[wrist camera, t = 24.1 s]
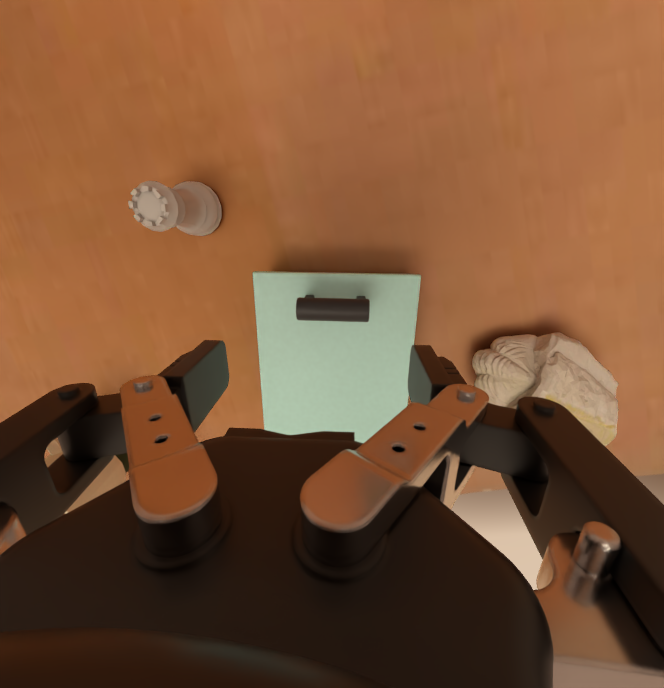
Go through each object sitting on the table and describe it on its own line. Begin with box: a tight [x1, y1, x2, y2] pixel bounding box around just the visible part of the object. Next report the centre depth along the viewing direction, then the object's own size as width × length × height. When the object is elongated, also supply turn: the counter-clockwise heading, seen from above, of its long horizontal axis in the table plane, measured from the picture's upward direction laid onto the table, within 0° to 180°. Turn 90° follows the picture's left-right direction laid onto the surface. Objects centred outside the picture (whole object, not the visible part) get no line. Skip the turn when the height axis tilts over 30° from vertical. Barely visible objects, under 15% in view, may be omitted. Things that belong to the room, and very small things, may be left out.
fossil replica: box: [472, 332, 618, 446], centre depth 29 cm, size 12×8×10 cm
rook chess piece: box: [128, 181, 222, 236], centre depth 26 cm, size 4×4×8 cm
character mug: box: [44, 438, 129, 516], centre depth 32 cm, size 11×7×13 cm, turn 18°
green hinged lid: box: [253, 271, 421, 443], centre depth 27 cm, size 16×13×5 cm
